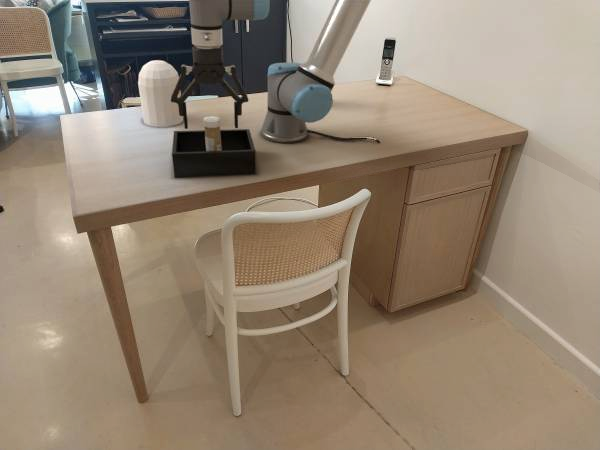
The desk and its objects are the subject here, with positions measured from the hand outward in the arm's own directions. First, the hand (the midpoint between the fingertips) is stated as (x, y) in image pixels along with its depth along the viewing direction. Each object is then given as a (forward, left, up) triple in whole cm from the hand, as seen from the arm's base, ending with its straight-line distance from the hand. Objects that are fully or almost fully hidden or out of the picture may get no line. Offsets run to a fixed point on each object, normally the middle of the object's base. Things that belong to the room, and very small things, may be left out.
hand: (211, 126), depth 124 cm
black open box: (0, 0, -11) cm, 11 cm away
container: (+16, -36, -11) cm, 41 cm away
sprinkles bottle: (0, 0, -11) cm, 11 cm away
